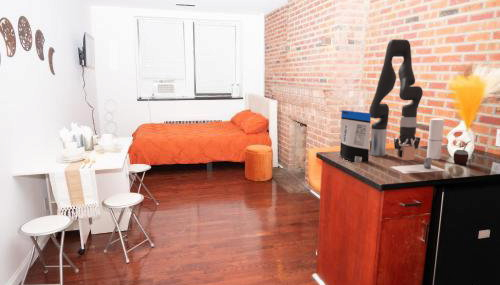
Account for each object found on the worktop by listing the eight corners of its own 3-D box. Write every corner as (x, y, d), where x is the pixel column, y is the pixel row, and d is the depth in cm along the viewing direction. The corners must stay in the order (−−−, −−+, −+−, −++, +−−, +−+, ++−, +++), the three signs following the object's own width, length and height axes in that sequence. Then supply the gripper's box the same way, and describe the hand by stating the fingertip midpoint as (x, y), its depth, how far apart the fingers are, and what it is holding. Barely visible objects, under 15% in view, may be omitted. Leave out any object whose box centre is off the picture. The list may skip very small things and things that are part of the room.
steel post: (426, 168, 172) (427, 158, 171) (422, 167, 175) (423, 157, 174) (432, 168, 173) (433, 158, 172) (427, 166, 176) (428, 157, 175)
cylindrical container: (425, 160, 195) (428, 119, 190) (428, 158, 200) (432, 118, 195) (438, 162, 190) (442, 120, 185) (441, 159, 195) (445, 118, 190)
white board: (403, 176, 165) (403, 173, 165) (389, 169, 178) (389, 166, 178) (445, 173, 169) (446, 170, 169) (428, 166, 181) (429, 164, 181)
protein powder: (362, 165, 186) (364, 114, 181) (334, 157, 208) (335, 110, 202) (374, 163, 190) (377, 112, 184) (345, 155, 212) (347, 109, 206)
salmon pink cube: (403, 160, 168) (404, 147, 167) (397, 157, 174) (398, 144, 172) (413, 159, 169) (414, 146, 168) (407, 157, 174) (408, 144, 173)
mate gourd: (453, 162, 190) (456, 137, 187) (469, 164, 185) (472, 138, 182) (451, 165, 184) (454, 139, 181) (468, 167, 179) (471, 140, 176)
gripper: (416, 123, 172) (413, 154, 176) (391, 124, 170) (389, 155, 174) (425, 125, 165) (422, 157, 169) (399, 127, 163) (397, 159, 166)
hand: (405, 156), depth 171 cm, fingers closed on salmon pink cube, 5 cm apart
